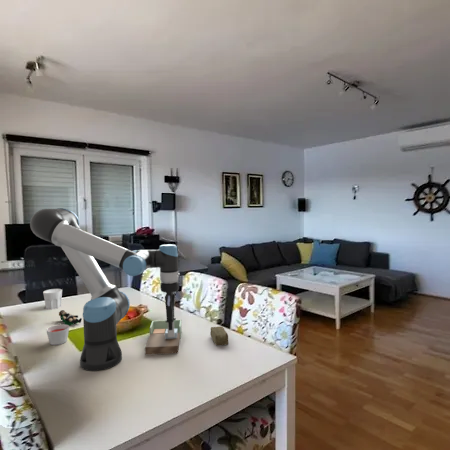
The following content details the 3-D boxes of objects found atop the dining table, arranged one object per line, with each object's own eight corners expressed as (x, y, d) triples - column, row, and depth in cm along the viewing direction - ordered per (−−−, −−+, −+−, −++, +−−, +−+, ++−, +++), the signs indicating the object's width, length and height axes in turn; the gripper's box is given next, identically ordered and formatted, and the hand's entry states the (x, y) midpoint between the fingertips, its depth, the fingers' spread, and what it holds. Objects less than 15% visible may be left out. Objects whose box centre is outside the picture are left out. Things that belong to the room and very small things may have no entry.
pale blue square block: (165, 338, 139) (164, 333, 139) (166, 334, 144) (166, 328, 144) (176, 338, 140) (176, 332, 139) (177, 333, 145) (177, 328, 144)
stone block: (216, 347, 138) (215, 335, 137) (209, 337, 149) (209, 326, 148) (229, 345, 139) (229, 334, 139) (222, 335, 150) (222, 324, 150)
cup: (51, 304, 202) (50, 288, 202) (66, 305, 201) (65, 289, 200) (40, 309, 192) (39, 292, 192) (55, 310, 191) (55, 293, 190)
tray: (150, 340, 145) (149, 327, 145) (152, 332, 154) (152, 320, 154) (180, 338, 147) (180, 326, 146) (181, 331, 156) (181, 319, 155)
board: (145, 354, 131) (145, 347, 131) (150, 340, 145) (150, 333, 145) (178, 353, 132) (177, 345, 132) (180, 339, 146) (179, 332, 146)
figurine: (71, 321, 162) (53, 311, 169) (70, 332, 162) (52, 321, 170) (85, 316, 168) (67, 307, 176) (84, 327, 169) (66, 317, 177)
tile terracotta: (152, 338, 146) (152, 333, 145) (154, 334, 151) (154, 329, 150) (164, 338, 146) (164, 332, 146) (165, 333, 151) (165, 328, 151)
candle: (43, 342, 145) (43, 328, 144) (64, 336, 151) (64, 323, 151) (51, 348, 138) (50, 333, 138) (73, 341, 145) (72, 327, 145)
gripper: (177, 284, 131) (178, 342, 132) (179, 277, 144) (181, 330, 145) (158, 285, 131) (160, 343, 132) (162, 278, 144) (164, 331, 145)
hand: (171, 336), depth 139 cm, fingers closed
